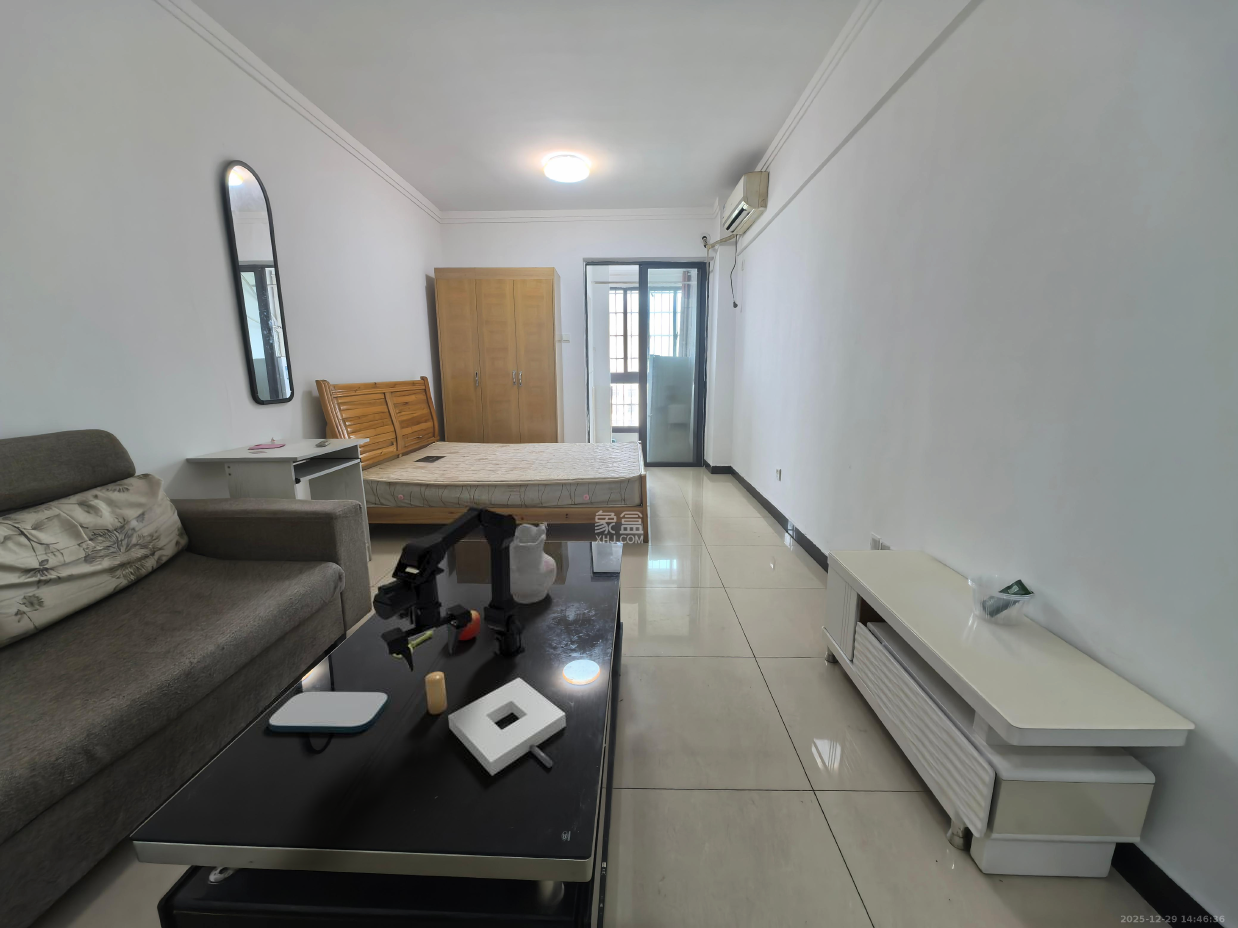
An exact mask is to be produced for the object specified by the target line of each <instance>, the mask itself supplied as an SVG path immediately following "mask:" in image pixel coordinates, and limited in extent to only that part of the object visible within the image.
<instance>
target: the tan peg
mask: <svg viewBox="0 0 1238 928" xmlns="http://www.w3.org/2000/svg"><path fill="white" fill-rule="evenodd" d="M424 681H425V690H426V700H427V707H428V712H429V714H432V715H439V714H441V713H443V712H444V711H446V709H447V707H448V702H447V701H448V699H447V693H446V683H445V682H446V681H445V674H444V672H442V671H434V672H430V673H429V674H427V675H426V676H425V678H424Z"/></svg>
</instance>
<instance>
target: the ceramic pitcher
mask: <svg viewBox="0 0 1238 928" xmlns="http://www.w3.org/2000/svg"><path fill="white" fill-rule="evenodd" d="M538 525H539V526H538V527H536V526H534V525H532V524H527V523H523V524H520V525H519V526H518V527H516V533H515V537H514V539H513V541H512V542H511V544H510V589H511V596H512V600H513V601H514V602H516V603H518V604H528V605H529V604H532V603H537V602H540V601H543V600H544V598H545V597H546V596H547V593H548V590H549V589H550V588H551V587H552V586H553V583H554V582H555V580H556V577H557V563H556V561H555V559H553V558H552V557H551V556H549V555H548V554H546V553H545V552H544V545H545V541H546V539H547V536H546V535H547V529H546V523H542V524H541V523H538Z"/></svg>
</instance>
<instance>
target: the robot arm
mask: <svg viewBox="0 0 1238 928" xmlns="http://www.w3.org/2000/svg"><path fill="white" fill-rule="evenodd" d="M479 527H482V530H483V535H484V536H483V537H484V539H485V540H486V542H487V544H488V545H489V548H490V549H489V551H490V580H491V581H490V582H491V583H490V584H491V585H490V587H491V599H490V601H489V602H488V604H487V605H485V606H484V607H483V622H484V621H485V625H486V626H487V627H488V628H489V631H490V632H491V631H493V632H494V638H493V643H494V644H493V646H494V647H493V649H492V650H493V652H494V653H495V654H497V655H499V656H500V657H501V658H503V659H504V660H508V659H510V658H512V657H514V656H515V655H517V654H519V653H521V652H524V651H525V650H526V647H525V646H523V645H522V634H523V632H524V631H525V630H526V625H527V621H525V620H524V619H523V618H521V617H519V615H518V614H519V613H518V607H517V605H516V603H515V600H514V599H513V597H512V594H511V589H510V544H511V542H512V541H513V539H514V537H515V533H516V529H517V520H516V517H515V516H514V515H512V514H510V513H503V512H497V511H493V510H489V509H488V508H486V507H482V506H470V507H469V508H467V510H466V511H465V512H464V513H462V514H460V515H459V516H458V517H456V518H455V519H453V520H452V521H451V522H449V523H447V524H446V525H444V526H443V527H441V529H438V530H437V531H436V532H434V533H433V534H430V535H426V536H423V537H419V538H416V539H414V540H412V541H410V542H408V543H406V544H405V545H404V546H403V547H402V549H401V554H400V556H399V558H398V560H397V563H396V565H395V567H394V570H393V572H392V574H391V578H392V579H394V580H392V581H391V582H388V583H385V584H381V585H380V586H377V593H375V595H374V596H373V600H372V608H373V609H374V612H375V613H376V615H377V616H378V617H379V618H380V619H381V620H385V621H387V620H389V619H391V618H393V617H395V618H396V619H397V620H398V621H401V620H405V621H406V622H407V621H408V623H409V625H410V626H412V625H413V627H412V628H410V629H406V630H404V631H403V629H401V628H400V627H399V626H397V627H395V628H392V629H390V630H386V631H384V632H382V633H381V635H380V637H379V641H380V646H381V647H382V648H383V650H385V652H386V653H388V655H392V656H393V654H395V655H396V656H399V655H401V656H402V657H403V658H402V659H403V660H404V661H403V662H405V665H406V666H407V668H408V670H410V672H411V673H412V672H414V660H413V653H412V654H411V648H410V647H409V646H408V645H409V644H410V642H409V640H410V639H413V638H416V637H419V636H421V635H423V634H424V635H425V634H426V632H429V631H434V630H435V629H438V628H441V627H442V626H446V628H447V638H448V639H447V642H448V651H449V653H450V654H452V655H453V654H454V652H455V650H456V647H457V644H458V642H459V638H460V636H461V634H462V632H463V630H464V628H466V627H467V626H468V623H470V622H472V620H473V619H472V613H471V611H472V610H470V609H469V608H467V607H466V606H464V605H463V604H462V603H458V604H456V605H453V606H449V607H447V608H446V609H445V611H444V612H445V615H441V608H442V607H443V604H442V602H441V601H440V596H439V588H438V579H437V576H440V575H442V574H443V573H444V572H445V569H444V568H443V567H440V566H439V565H440V564H441V563H442V561H444V559H445V557H446V555H447V552H448V551H449V550H450V549H452V548H453V547H454V546H455V545H457V544H458V543H459V542H461V541H462V540H463V539H464V538H466V537H467V536H469V535H471V534H472V533H473V532H474V531H475V530H477V529H478V528H479ZM407 569H411V570H415V571H417V572H412V571H408V570H407Z"/></svg>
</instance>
